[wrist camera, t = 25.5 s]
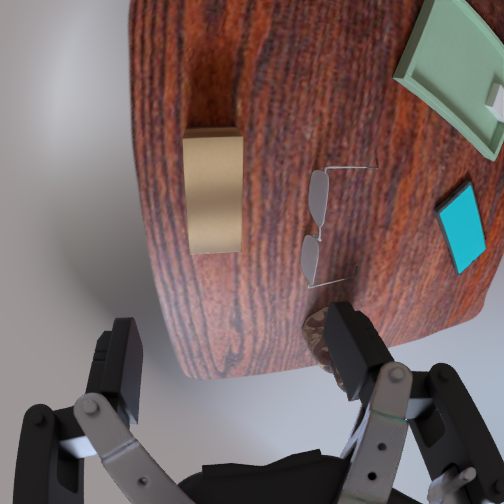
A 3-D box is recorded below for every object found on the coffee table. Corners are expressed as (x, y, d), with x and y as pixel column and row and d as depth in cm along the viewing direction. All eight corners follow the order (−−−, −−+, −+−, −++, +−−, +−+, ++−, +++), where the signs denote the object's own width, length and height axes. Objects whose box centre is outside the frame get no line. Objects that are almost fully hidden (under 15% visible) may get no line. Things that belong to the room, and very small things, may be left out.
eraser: (185, 127, 26) (182, 138, 21) (234, 125, 27) (243, 136, 22) (190, 224, 32) (189, 255, 26) (234, 222, 32) (241, 252, 27)
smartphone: (471, 180, 33) (486, 248, 40) (467, 178, 34) (483, 246, 41) (436, 212, 35) (457, 276, 42) (432, 210, 35) (455, 273, 43)
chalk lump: (492, 82, 26) (500, 84, 25) (505, 98, 27) (513, 101, 26) (484, 105, 28) (492, 107, 27) (497, 120, 29) (505, 123, 28)
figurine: (353, 303, 42) (391, 368, 31) (342, 338, 45) (372, 401, 35) (305, 309, 40) (336, 381, 30) (298, 345, 44) (322, 412, 34)
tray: (431, -20, 19) (442, -22, 18) (515, 73, 26) (525, 75, 24) (392, 77, 26) (403, 78, 24) (484, 157, 32) (494, 161, 31)
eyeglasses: (311, 158, 30) (329, 169, 27) (375, 161, 32) (397, 172, 28) (297, 273, 37) (310, 294, 34) (354, 266, 39) (370, 284, 36)
